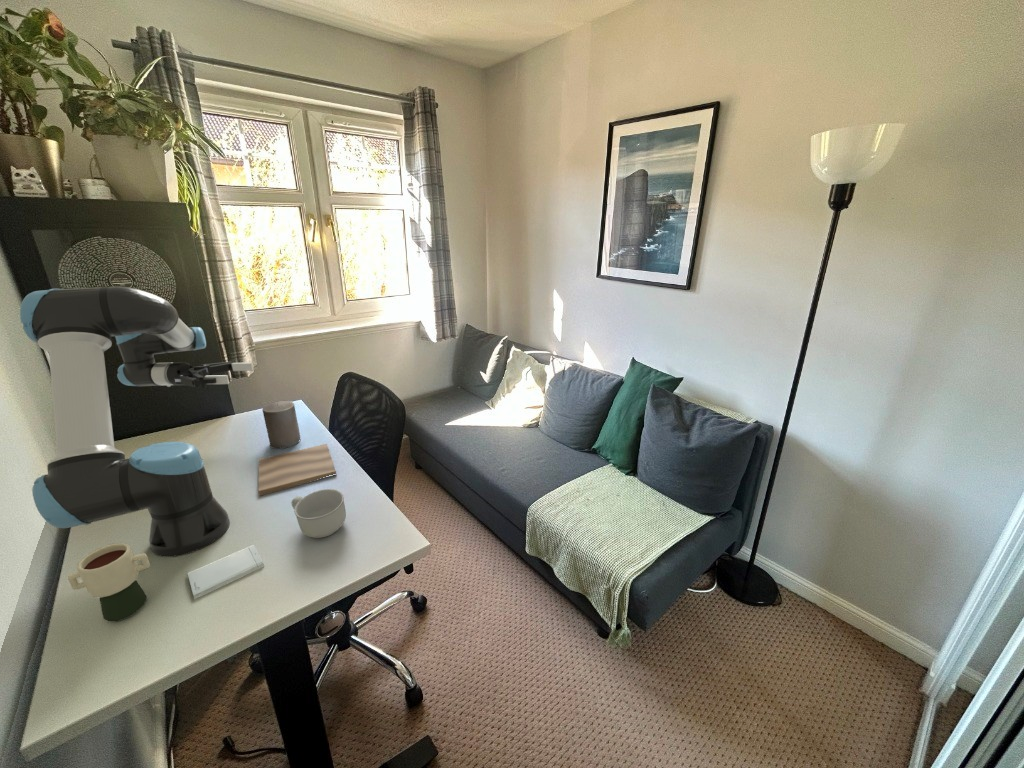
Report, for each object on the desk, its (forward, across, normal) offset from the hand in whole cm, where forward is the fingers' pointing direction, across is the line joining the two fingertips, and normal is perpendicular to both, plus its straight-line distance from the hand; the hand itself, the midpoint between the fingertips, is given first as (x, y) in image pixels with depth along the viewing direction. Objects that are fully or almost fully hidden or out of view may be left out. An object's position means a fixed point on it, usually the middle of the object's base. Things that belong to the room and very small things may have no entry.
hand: (240, 372), depth 134 cm
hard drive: (+26, +60, -26) cm, 70 cm away
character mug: (+12, +69, -26) cm, 75 cm away
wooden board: (+22, +18, -26) cm, 38 cm away
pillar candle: (+10, 0, -26) cm, 28 cm away
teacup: (+40, +46, -26) cm, 66 cm away
